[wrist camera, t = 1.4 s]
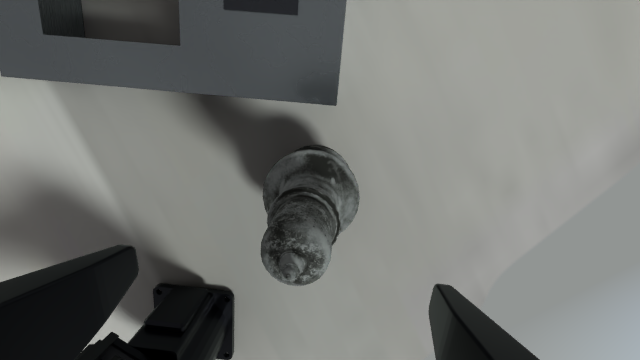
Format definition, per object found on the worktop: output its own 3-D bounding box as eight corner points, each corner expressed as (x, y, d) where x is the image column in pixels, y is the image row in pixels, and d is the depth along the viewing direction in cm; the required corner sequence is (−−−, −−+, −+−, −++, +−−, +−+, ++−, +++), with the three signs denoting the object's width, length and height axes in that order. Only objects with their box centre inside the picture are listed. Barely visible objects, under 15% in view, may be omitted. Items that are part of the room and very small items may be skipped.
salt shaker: (288, 227, 23) (236, 363, 11) (263, 153, 21) (175, 219, 10) (364, 209, 22) (394, 333, 10) (344, 131, 21) (352, 174, 9)
